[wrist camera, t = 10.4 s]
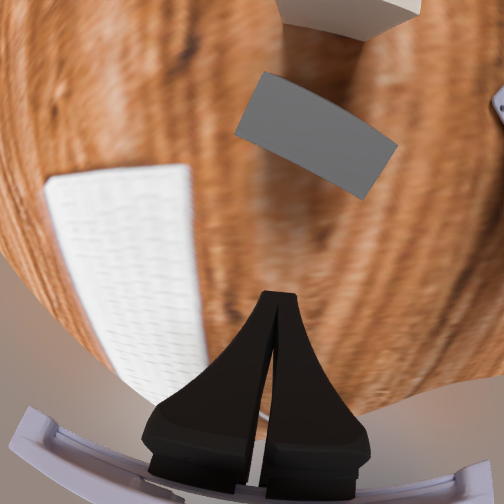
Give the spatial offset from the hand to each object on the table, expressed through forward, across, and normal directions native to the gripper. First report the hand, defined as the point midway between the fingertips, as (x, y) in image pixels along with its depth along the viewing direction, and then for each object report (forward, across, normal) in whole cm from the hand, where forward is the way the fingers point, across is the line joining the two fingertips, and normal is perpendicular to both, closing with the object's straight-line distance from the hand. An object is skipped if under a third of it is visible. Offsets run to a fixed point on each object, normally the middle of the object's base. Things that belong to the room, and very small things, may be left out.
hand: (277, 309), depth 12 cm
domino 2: (+10, -1, -7) cm, 12 cm away
